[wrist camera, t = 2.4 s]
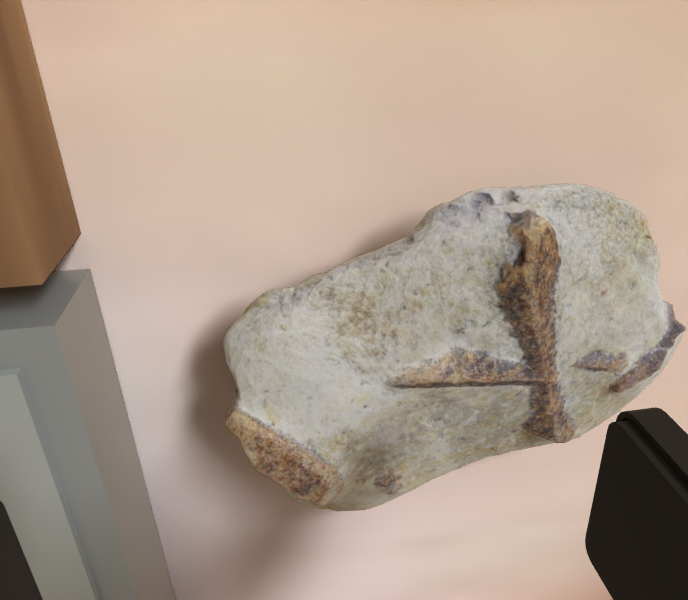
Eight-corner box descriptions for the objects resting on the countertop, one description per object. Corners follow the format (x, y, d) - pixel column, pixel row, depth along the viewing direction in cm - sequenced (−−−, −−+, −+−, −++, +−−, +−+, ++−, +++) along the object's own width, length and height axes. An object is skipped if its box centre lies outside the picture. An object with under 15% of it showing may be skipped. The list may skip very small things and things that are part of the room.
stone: (599, 93, 15) (685, 125, 12) (654, 359, 19) (726, 427, 17) (172, 301, 16) (158, 375, 13) (320, 507, 20) (334, 596, 18)
